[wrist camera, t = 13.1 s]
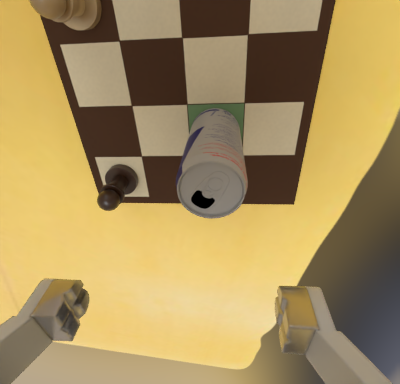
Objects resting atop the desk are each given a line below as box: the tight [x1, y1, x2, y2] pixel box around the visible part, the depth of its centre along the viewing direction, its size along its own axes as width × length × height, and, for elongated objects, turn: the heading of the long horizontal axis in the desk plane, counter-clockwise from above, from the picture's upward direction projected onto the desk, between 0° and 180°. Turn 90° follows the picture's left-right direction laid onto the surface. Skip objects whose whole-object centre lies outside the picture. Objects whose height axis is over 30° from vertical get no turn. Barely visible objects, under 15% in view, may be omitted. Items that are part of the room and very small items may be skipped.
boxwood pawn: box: [29, 0, 102, 30], centre depth 20 cm, size 4×4×6 cm
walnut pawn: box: [97, 164, 138, 211], centre depth 30 cm, size 4×4×6 cm
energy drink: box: [176, 108, 248, 218], centre depth 23 cm, size 5×5×12 cm
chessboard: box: [40, 0, 335, 204], centre depth 27 cm, size 26×26×1 cm
